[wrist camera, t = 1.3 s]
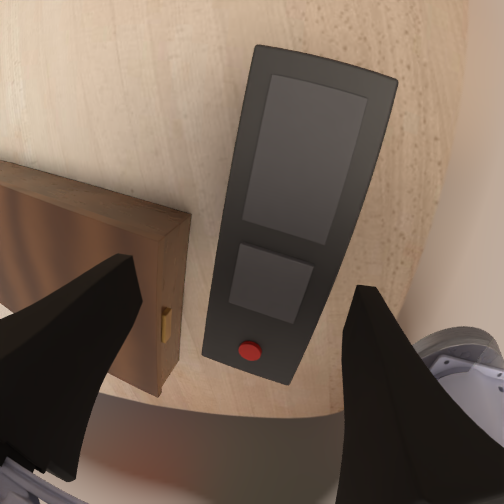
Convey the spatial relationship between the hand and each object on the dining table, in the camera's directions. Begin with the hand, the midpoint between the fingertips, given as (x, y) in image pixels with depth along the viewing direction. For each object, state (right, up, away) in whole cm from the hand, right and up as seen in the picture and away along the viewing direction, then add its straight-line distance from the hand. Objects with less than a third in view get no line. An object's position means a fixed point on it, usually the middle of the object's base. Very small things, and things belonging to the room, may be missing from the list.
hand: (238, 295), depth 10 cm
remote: (+2, +3, +2) cm, 4 cm away
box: (-30, +5, +21) cm, 37 cm away
